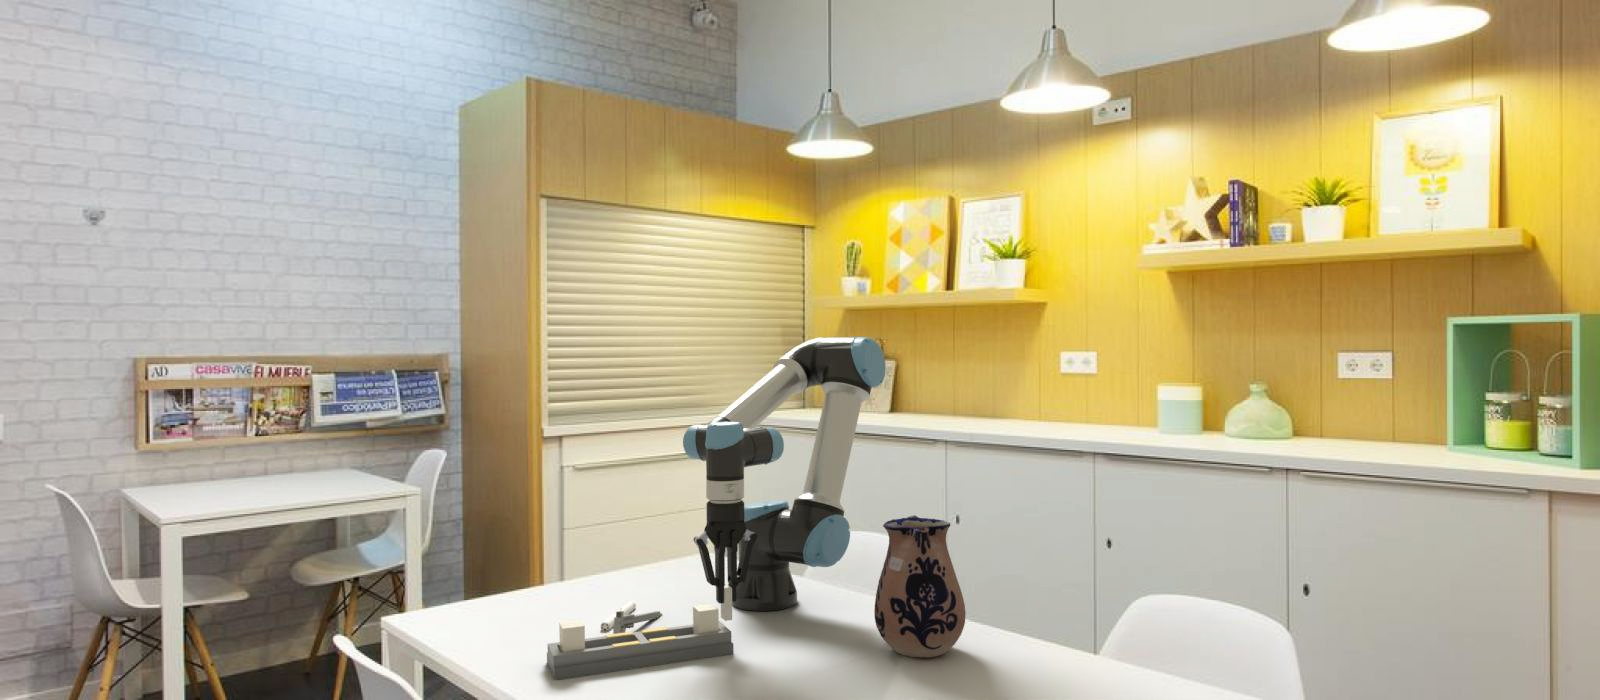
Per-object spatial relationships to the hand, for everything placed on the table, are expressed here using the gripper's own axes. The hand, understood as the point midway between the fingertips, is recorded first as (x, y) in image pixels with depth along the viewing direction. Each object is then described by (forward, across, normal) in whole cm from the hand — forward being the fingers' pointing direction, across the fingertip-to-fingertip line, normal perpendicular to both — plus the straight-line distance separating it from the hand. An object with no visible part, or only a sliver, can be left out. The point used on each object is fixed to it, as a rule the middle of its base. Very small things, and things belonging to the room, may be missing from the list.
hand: (726, 618), depth 190 cm
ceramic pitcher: (+6, +34, -17) cm, 38 cm away
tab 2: (+3, -4, 0) cm, 5 cm away
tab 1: (+4, -30, 0) cm, 30 cm away
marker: (+6, -15, +28) cm, 33 cm away
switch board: (+6, -17, 0) cm, 18 cm away
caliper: (+6, -13, +19) cm, 24 cm away
